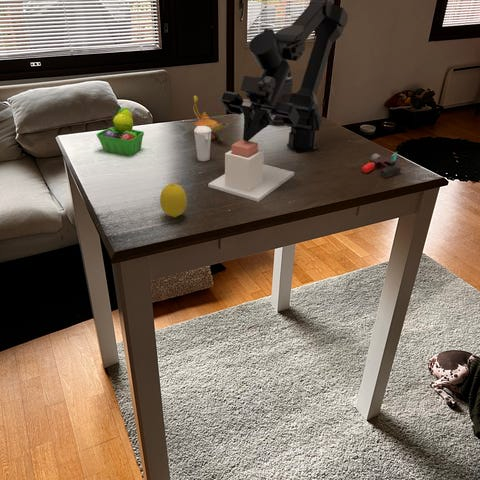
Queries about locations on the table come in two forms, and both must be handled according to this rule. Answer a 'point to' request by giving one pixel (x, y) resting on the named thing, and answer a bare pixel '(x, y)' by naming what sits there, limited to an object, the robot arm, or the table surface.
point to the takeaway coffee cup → (203, 142)
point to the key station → (249, 176)
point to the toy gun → (383, 165)
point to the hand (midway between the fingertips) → (245, 140)
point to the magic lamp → (207, 121)
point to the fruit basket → (121, 135)
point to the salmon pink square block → (244, 148)
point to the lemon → (173, 200)
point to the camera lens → (284, 98)
